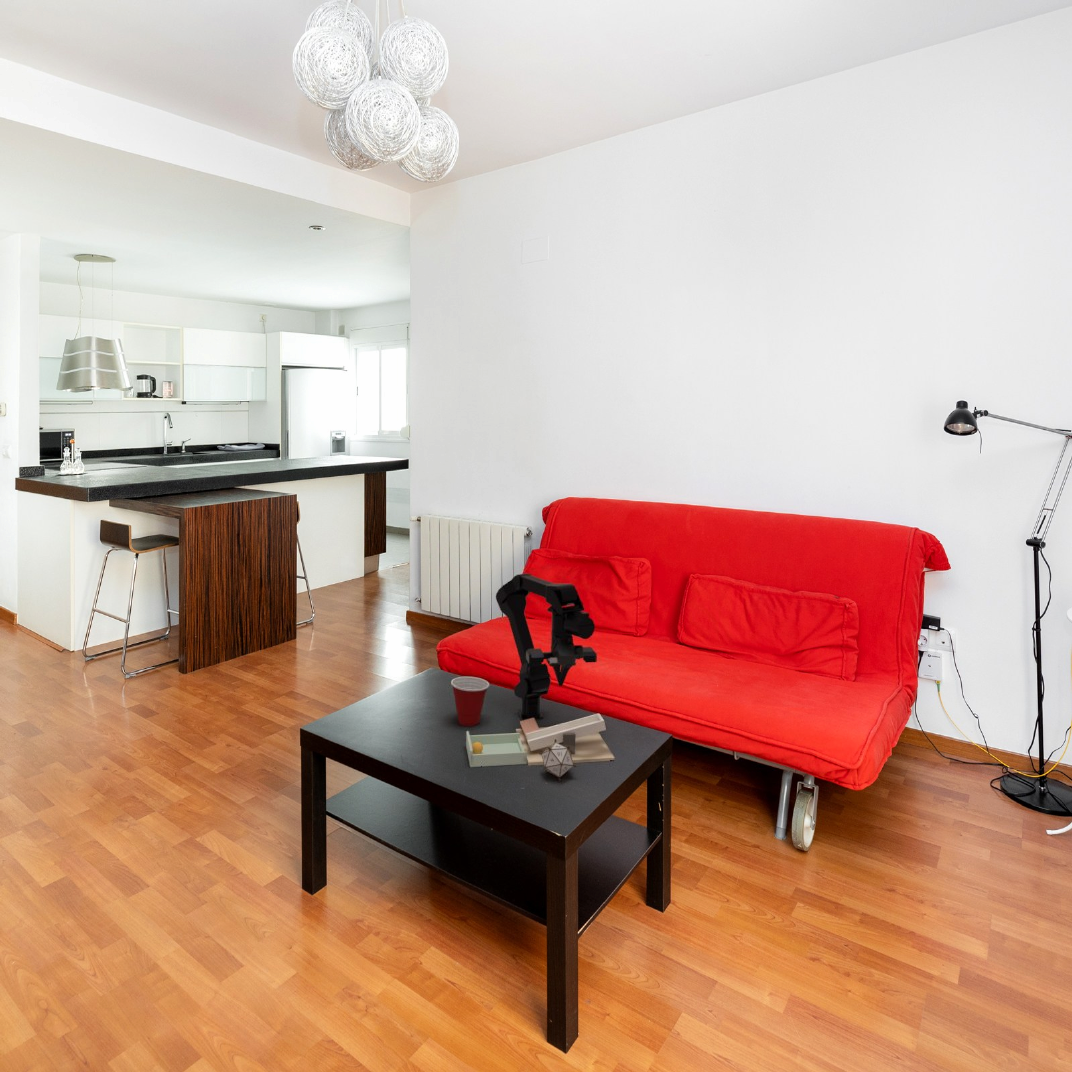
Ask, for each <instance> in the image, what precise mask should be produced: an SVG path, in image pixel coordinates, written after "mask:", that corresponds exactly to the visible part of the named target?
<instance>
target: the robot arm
mask: <svg viewBox="0 0 1072 1072" xmlns="http://www.w3.org/2000/svg"><path fill="white" fill-rule="evenodd" d="M530 593H532V594H534V595H538V596H540V597H543V598H544V599H545V600H544V601H545V602H546V603H547V604H549V605H550V606H549V607H548V608H547V610H546V611H547V612H549V613H551V631H550V633H551V634H550V635H551V636H550V637H551V639H550V640H551V641H550V651H544V652H543V650H542V649H541V648H536V647H535V645H534V642H533V638H532V635H531V632H530V629H529V624H528V621H527V618H526V615H525V614H526V613H525V611H526V607H527V597H528V596H529V594H530ZM495 600H496V603H497V605H498V607H499V610H500V611H501V613H503V614H504V615H505V617H507V619H508V622H509V626H510V628H511V631H512V636H513V640H514V642H515V646H516V650H517V653H518V658H519V661H520V665H521V666H520V669H519V674H518V677H519V678H518V679H519V682H518V683H517V684H516V685H515V686H514V687H513V691H514V692H513V693H514V695H515V697H518V698H519V699H521V700H520V702H521V703H520V709H518V711H517V712H518V715H519V717H520V720H521V721H523V720H527V719H531V718H534V719H535V720H537V719H538V720H543V719H544V715H543V713H542V708H541V706H542V705H541V704H542V696H547V695H548V693H549V689H550V687H551V684H552V683H551V681H552V680H551V674H550V671H549V668H548V666H550V667H552V669H553V672H554V674H555V677H556V681H557V685H558V687H563V685H564V683H565V680H566V678H567V675H568V673H569V671H570V670H571V668H572V667H574V666H576V665H577V662H576V661H577V660H581V659H582V660H583V661H584V662H585V663H587V664H588V663H597V662H598V654H597V652H596V651H595V650H594V648H593V647H591V646H583V645H582V644H578V645H577V644H575V643H574V637H577V638H580V639H583V640H587V639H590V637H592V636H593V634H594V633H595V629H596V626H595V621H594V620H593V619H592V618H591V617H590V613H589V612H586V611H585V607H584V603H583V601H582V600H581V597H580V595H579V592H578V590H577V588H576V586H575V585H574V584H573V583H553V582H550V581H548V580H545V579H543V578H539V577H537V576H534V575H533V574H530V573H520V574H516V575H514V576H513V577H512V579H510V580H509V581H508V582H506V583H505V584H502V586H501V587H500V588H499V589H498V590H497V592H496V594H495ZM573 636H574V637H573ZM545 660H546V663H544V661H545ZM547 663H548V665H547Z"/></svg>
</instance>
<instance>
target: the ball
mask: <svg viewBox="0 0 1072 1072" xmlns="http://www.w3.org/2000/svg"><path fill="white" fill-rule="evenodd" d="M472 749H473V753H474V754H480V753H481V752H482V750H483V746H482V744H481V743H479V742H475V743H473V744H472Z"/></svg>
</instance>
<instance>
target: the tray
mask: <svg viewBox="0 0 1072 1072" xmlns="http://www.w3.org/2000/svg"><path fill="white" fill-rule="evenodd" d="M465 733H466V735H465V739H466V740H465V741H466V742H465V746H466V747H465V748H466V753H467V757H468V762H469V767H470V768H478V767H479V768H480V767H481V766H482V767H493V766H494V767H495V766H511V765H513V766H515V765H528V763H527V752H526V751H524V748H523V746H522V743H521V740H520V733H516V732H513V733H512V732H511V733H493V734H475V735H474V734H473V735H471V734H470V730H467V731H466V732H465ZM475 742H479V743H481V744H482V746H483V750H482V752H481V753H480V754H474V753H473V749H472V744H473V743H475ZM482 767H481V768H482Z"/></svg>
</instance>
